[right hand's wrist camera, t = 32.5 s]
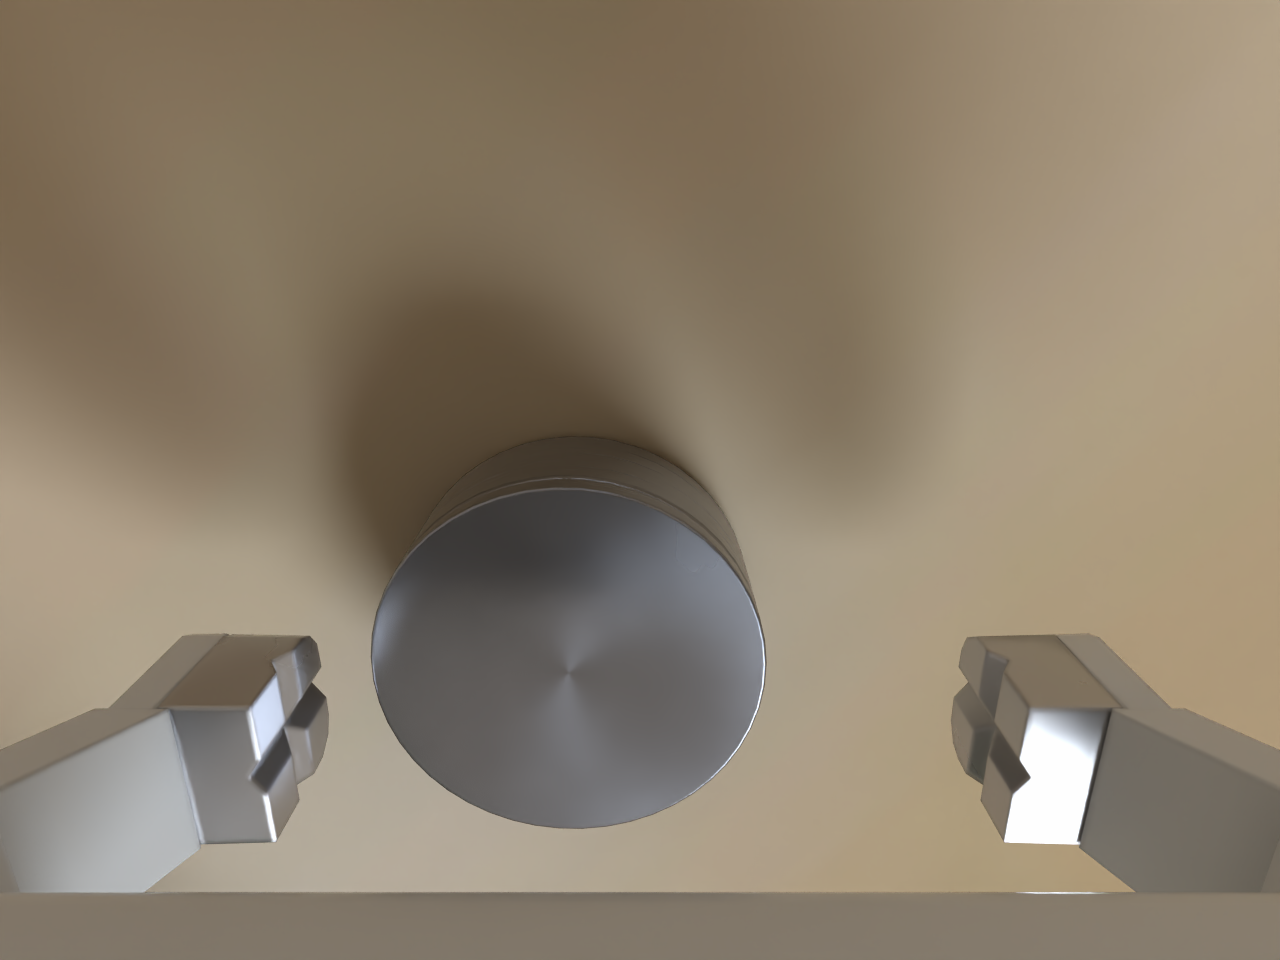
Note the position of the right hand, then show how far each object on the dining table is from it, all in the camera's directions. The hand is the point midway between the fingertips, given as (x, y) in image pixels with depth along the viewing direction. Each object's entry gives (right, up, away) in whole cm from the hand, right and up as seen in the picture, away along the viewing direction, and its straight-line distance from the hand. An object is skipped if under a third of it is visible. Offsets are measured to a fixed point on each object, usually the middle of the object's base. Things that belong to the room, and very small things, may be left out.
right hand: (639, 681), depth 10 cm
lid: (-1, 0, +1) cm, 1 cm away
